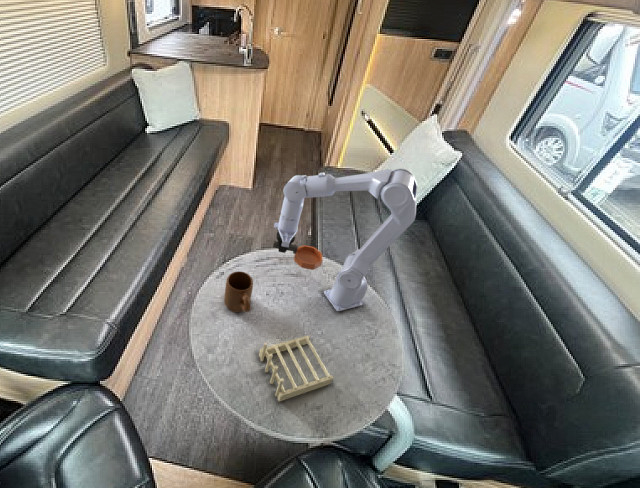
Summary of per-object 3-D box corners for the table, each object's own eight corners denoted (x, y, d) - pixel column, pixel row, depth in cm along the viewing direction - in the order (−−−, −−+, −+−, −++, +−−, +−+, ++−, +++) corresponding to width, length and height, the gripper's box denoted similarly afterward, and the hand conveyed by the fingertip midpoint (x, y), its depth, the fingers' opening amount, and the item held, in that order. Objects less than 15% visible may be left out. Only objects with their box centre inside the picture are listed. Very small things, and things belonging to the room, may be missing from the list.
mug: (258, 323, 90) (263, 301, 84) (232, 328, 87) (235, 306, 82) (244, 290, 99) (248, 269, 93) (221, 295, 97) (223, 272, 91)
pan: (320, 253, 105) (324, 243, 103) (321, 271, 98) (325, 261, 96) (272, 244, 107) (275, 233, 104) (270, 261, 100) (272, 250, 97)
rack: (306, 341, 87) (312, 325, 83) (330, 383, 78) (338, 368, 74) (257, 355, 82) (261, 339, 78) (278, 402, 73) (283, 386, 69)
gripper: (278, 199, 100) (271, 233, 108) (274, 226, 88) (267, 262, 96) (301, 203, 99) (292, 237, 107) (300, 231, 88) (290, 267, 96)
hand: (282, 249), depth 102 cm, fingers closed on pan
